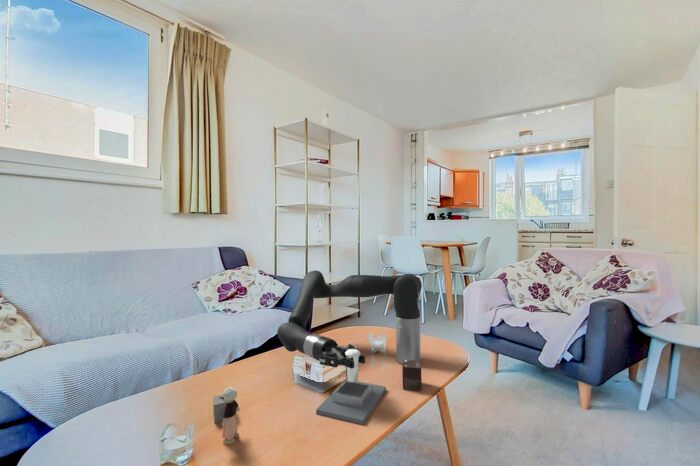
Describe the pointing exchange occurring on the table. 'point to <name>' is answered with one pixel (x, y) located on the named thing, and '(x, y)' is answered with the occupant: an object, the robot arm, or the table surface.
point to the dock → (352, 401)
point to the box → (411, 375)
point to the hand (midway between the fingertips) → (358, 362)
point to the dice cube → (218, 408)
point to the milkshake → (355, 356)
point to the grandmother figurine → (230, 416)
